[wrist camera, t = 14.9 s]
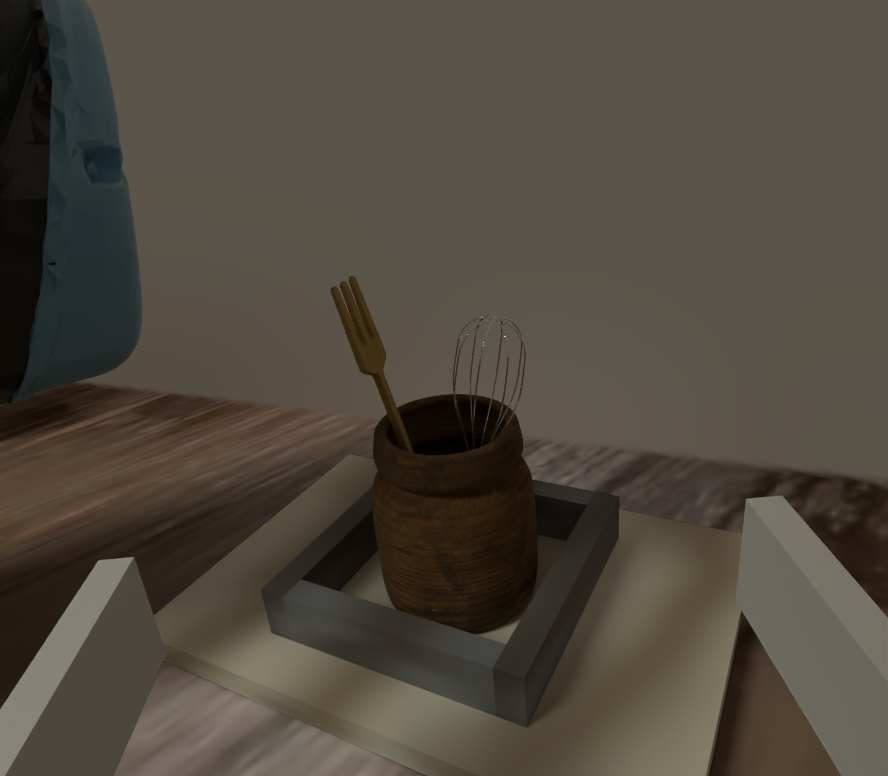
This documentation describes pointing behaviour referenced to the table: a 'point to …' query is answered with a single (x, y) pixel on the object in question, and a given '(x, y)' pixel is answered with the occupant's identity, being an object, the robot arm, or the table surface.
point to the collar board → (478, 640)
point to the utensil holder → (448, 493)
